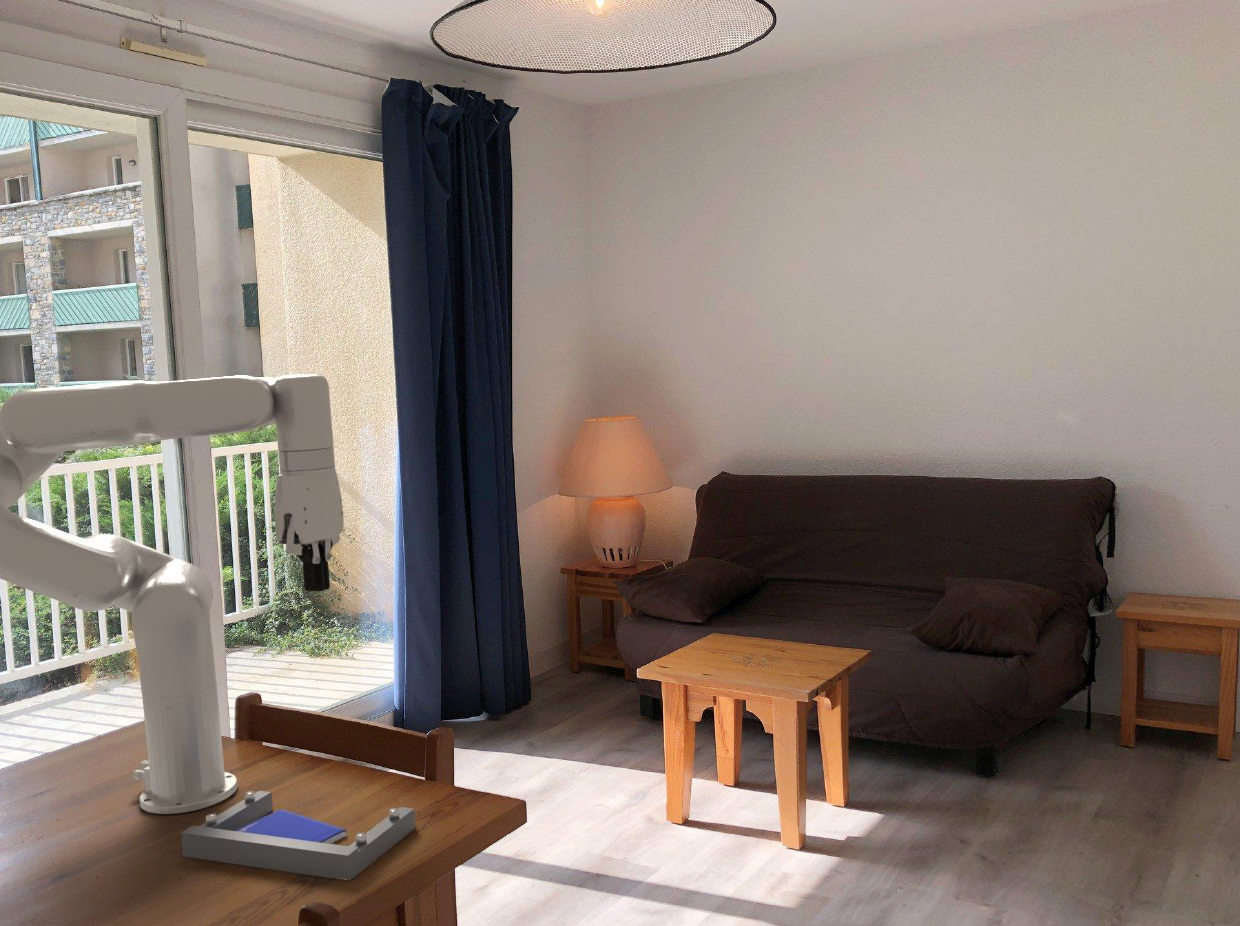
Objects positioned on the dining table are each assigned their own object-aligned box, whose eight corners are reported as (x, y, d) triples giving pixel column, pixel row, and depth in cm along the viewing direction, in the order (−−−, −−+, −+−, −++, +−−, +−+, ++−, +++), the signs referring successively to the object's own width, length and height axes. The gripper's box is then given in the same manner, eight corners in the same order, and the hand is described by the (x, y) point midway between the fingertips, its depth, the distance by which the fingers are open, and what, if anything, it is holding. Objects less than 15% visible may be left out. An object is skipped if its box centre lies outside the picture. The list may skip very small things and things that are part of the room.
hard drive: (228, 833, 129) (292, 855, 122) (282, 807, 136) (346, 827, 129) (229, 845, 129) (293, 868, 122) (283, 819, 136) (347, 839, 129)
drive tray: (183, 856, 125) (180, 828, 125) (260, 808, 138) (258, 783, 138) (349, 880, 117) (347, 851, 117) (415, 827, 130) (413, 800, 130)
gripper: (317, 457, 154) (327, 578, 156) (249, 468, 140) (260, 600, 142) (360, 456, 151) (369, 579, 153) (295, 467, 137) (306, 602, 139)
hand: (317, 589), depth 147 cm, fingers closed
